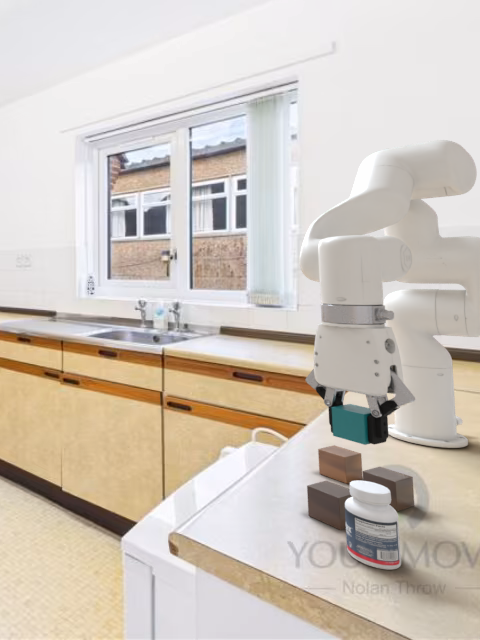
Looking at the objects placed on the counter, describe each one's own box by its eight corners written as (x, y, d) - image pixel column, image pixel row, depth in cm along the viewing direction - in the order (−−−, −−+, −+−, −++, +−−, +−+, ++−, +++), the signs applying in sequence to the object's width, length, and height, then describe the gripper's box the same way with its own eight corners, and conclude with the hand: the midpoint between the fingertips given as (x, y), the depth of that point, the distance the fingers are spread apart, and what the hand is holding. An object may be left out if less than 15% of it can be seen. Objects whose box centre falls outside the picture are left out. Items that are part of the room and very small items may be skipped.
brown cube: (327, 509, 73) (326, 480, 73) (360, 523, 68) (358, 492, 69) (308, 515, 71) (306, 485, 71) (340, 530, 67) (338, 498, 67)
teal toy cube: (351, 432, 75) (349, 403, 75) (383, 440, 71) (382, 410, 71) (332, 435, 74) (331, 406, 74) (365, 445, 70) (363, 414, 70)
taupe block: (381, 494, 77) (379, 466, 77) (414, 506, 73) (413, 476, 73) (363, 499, 76) (362, 470, 76) (397, 511, 72) (395, 481, 72)
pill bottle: (350, 541, 64) (347, 474, 64) (403, 557, 60) (399, 486, 61) (343, 558, 60) (339, 486, 61) (398, 576, 57) (394, 500, 57)
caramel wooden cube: (335, 469, 87) (334, 445, 87) (362, 479, 83) (361, 453, 83) (319, 473, 85) (318, 448, 86) (346, 483, 81) (344, 457, 81)
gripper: (436, 319, 67) (443, 452, 66) (311, 311, 82) (316, 419, 82) (403, 321, 64) (411, 460, 63) (281, 313, 80) (286, 424, 79)
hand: (357, 435), depth 72 cm, fingers closed on teal toy cube, 4 cm apart
